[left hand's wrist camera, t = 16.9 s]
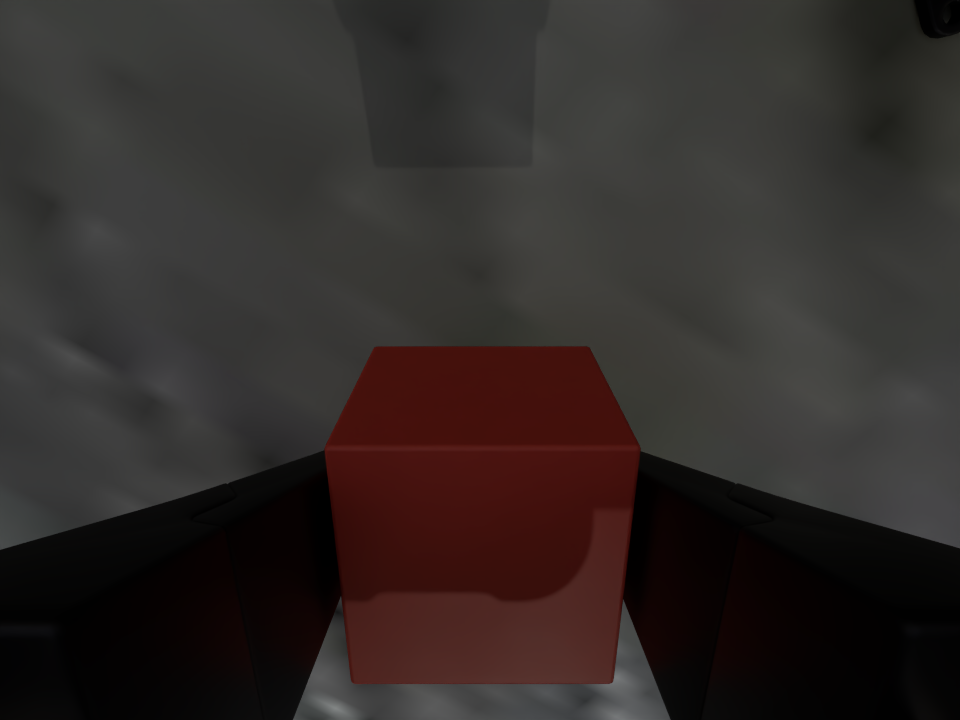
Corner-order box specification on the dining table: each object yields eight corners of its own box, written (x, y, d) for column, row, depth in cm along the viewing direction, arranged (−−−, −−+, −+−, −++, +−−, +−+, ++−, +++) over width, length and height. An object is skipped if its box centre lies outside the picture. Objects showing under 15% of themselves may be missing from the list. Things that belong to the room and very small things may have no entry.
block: (373, 345, 12) (322, 446, 8) (589, 345, 12) (642, 446, 8) (387, 529, 13) (350, 685, 10) (576, 529, 13) (614, 685, 10)
